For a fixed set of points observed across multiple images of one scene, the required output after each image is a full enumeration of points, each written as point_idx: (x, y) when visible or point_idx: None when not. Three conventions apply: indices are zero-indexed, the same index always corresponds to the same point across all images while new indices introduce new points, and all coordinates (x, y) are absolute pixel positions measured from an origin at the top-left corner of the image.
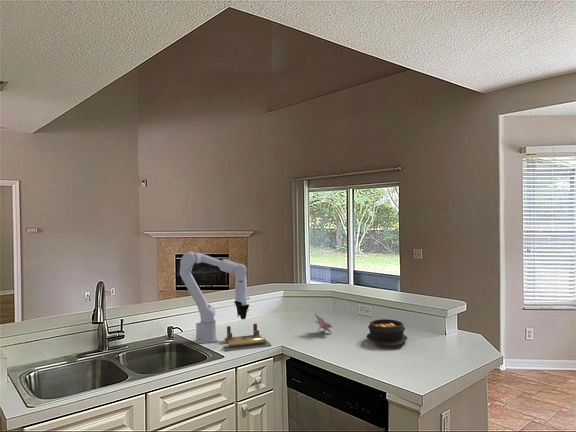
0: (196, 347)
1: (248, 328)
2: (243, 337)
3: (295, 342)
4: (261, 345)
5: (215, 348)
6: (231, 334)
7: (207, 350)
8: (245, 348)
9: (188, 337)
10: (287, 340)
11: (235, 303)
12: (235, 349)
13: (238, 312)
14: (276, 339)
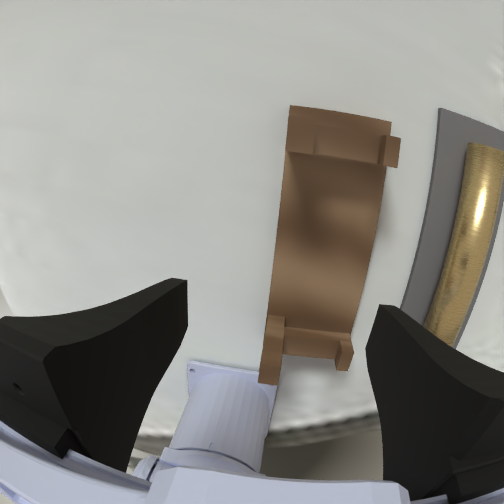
0: (312, 442)
1: (76, 135)
2: (317, 240)
3: (489, 2)
4: None
5: None
6: (351, 351)
7: (379, 420)
8: (481, 282)
9: (156, 428)
10: (450, 6)
11: (124, 470)
12: (463, 330)
13: (172, 349)
14: (412, 39)
